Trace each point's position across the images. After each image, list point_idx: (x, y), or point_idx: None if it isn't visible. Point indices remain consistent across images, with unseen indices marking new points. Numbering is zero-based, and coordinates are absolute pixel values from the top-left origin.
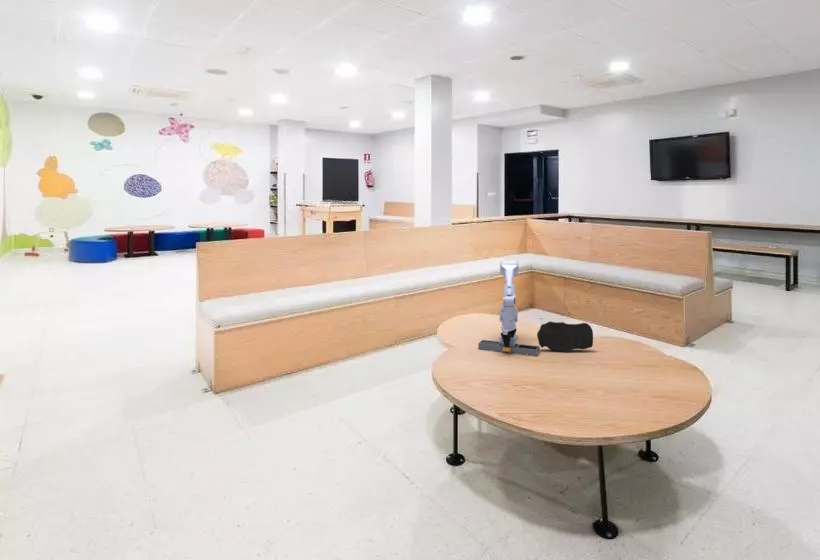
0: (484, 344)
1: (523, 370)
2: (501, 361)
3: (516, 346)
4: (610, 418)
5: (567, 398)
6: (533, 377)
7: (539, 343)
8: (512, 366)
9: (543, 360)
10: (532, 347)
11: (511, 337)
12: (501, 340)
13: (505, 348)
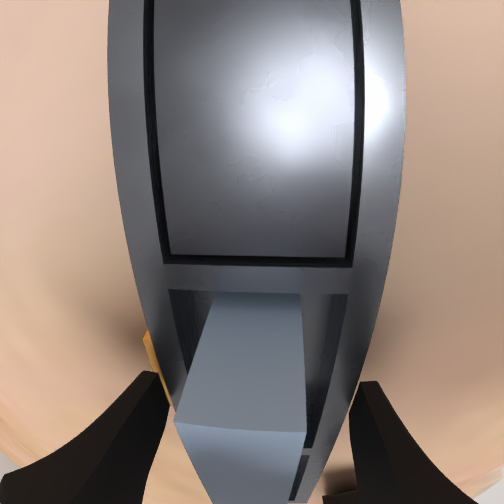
0: (111, 28)
1: (16, 400)
2: (3, 316)
3: (313, 419)
4: (11, 456)
5: (2, 437)
6: (8, 414)
7: (353, 501)
8: (7, 368)
9: (173, 474)
10: (297, 482)
11: (285, 499)
12: (191, 383)
13: (154, 360)
